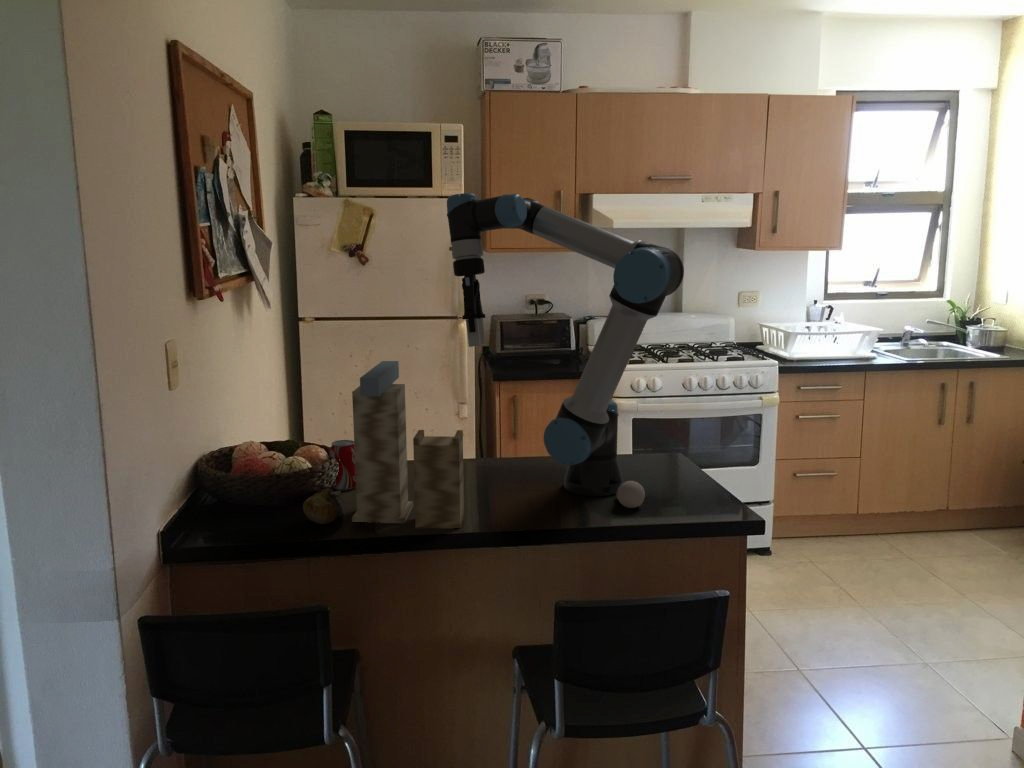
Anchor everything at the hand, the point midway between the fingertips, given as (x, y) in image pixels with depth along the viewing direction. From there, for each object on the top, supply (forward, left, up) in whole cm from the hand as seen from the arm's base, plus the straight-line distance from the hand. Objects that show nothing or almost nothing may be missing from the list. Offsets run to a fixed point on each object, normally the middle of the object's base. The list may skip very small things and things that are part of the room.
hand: (477, 345), depth 205 cm
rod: (+21, +16, -7) cm, 27 cm away
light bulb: (-37, +9, -38) cm, 53 cm away
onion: (+34, +24, -38) cm, 56 cm away
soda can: (+35, -2, -37) cm, 51 cm away
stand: (+21, +18, -37) cm, 46 cm away
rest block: (+7, +23, -37) cm, 44 cm away
